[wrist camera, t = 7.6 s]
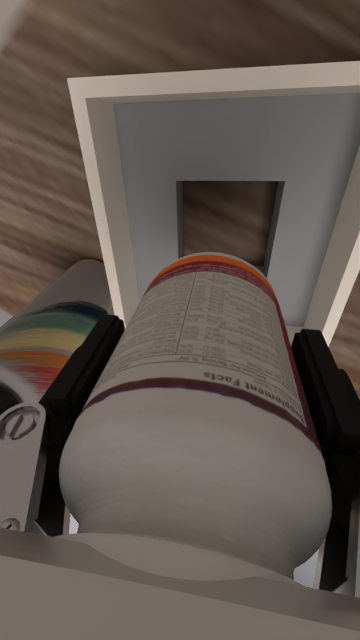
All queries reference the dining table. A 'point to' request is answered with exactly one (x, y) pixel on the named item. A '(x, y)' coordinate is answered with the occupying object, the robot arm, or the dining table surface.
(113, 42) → the dining table surface
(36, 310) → the lotion bottle
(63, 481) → the pill bottle
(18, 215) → the dining table surface
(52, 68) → the dining table surface
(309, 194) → the box
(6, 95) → the dining table surface
